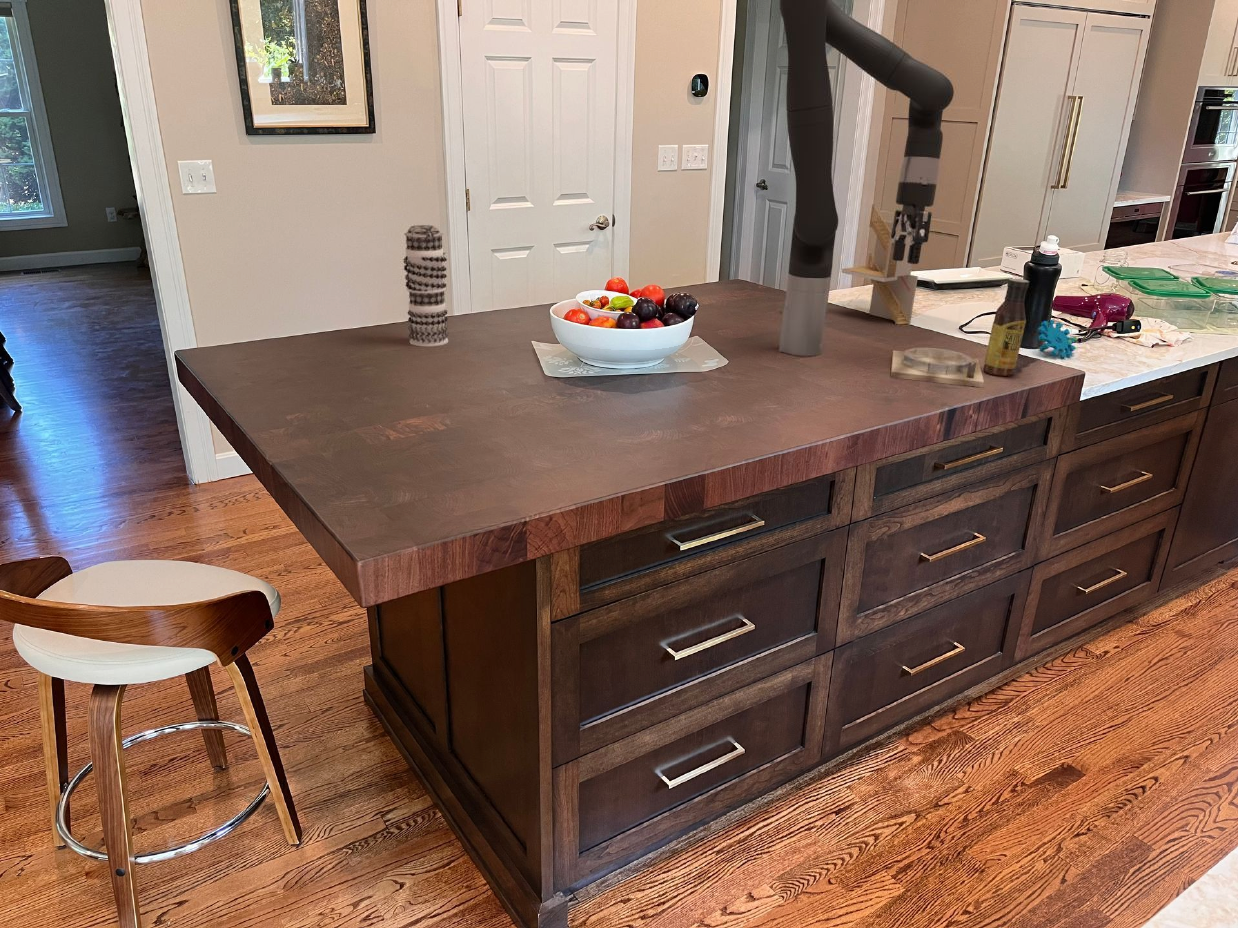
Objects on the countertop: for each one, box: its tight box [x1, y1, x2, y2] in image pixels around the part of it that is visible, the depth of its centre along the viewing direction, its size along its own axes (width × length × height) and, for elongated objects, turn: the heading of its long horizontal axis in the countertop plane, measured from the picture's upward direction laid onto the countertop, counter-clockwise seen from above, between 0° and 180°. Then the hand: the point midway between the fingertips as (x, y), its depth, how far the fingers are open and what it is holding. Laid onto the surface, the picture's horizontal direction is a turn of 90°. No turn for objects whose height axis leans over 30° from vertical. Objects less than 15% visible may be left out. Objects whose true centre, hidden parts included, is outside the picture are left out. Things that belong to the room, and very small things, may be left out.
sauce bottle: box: [983, 277, 1030, 377], centre depth 186 cm, size 6×6×20 cm
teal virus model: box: [1037, 318, 1078, 360], centre depth 206 cm, size 11×6×10 cm
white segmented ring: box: [903, 347, 976, 378], centre depth 188 cm, size 14×14×3 cm
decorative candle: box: [403, 224, 449, 348], centre depth 193 cm, size 9×9×25 cm
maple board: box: [890, 350, 985, 388], centre depth 189 cm, size 18×18×1 cm
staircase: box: [841, 203, 919, 326], centre depth 227 cm, size 10×16×29 cm, turn 37°
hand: (904, 262), depth 186 cm, fingers open, 8 cm apart
